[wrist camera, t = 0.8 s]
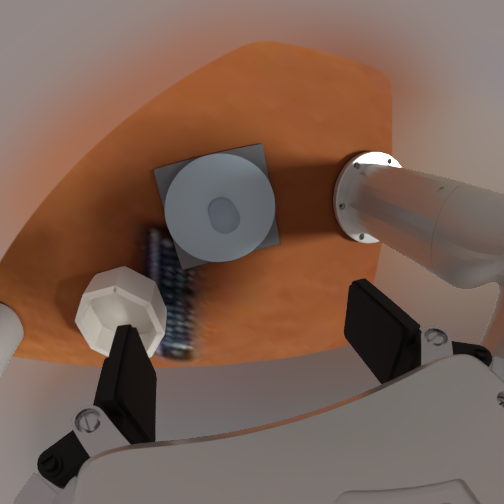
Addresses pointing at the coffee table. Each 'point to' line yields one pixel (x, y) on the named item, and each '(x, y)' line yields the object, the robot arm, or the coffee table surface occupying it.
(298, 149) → the coffee table surface
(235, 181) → the lid
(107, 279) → the dish
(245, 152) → the mat
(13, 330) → the can
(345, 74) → the coffee table surface
